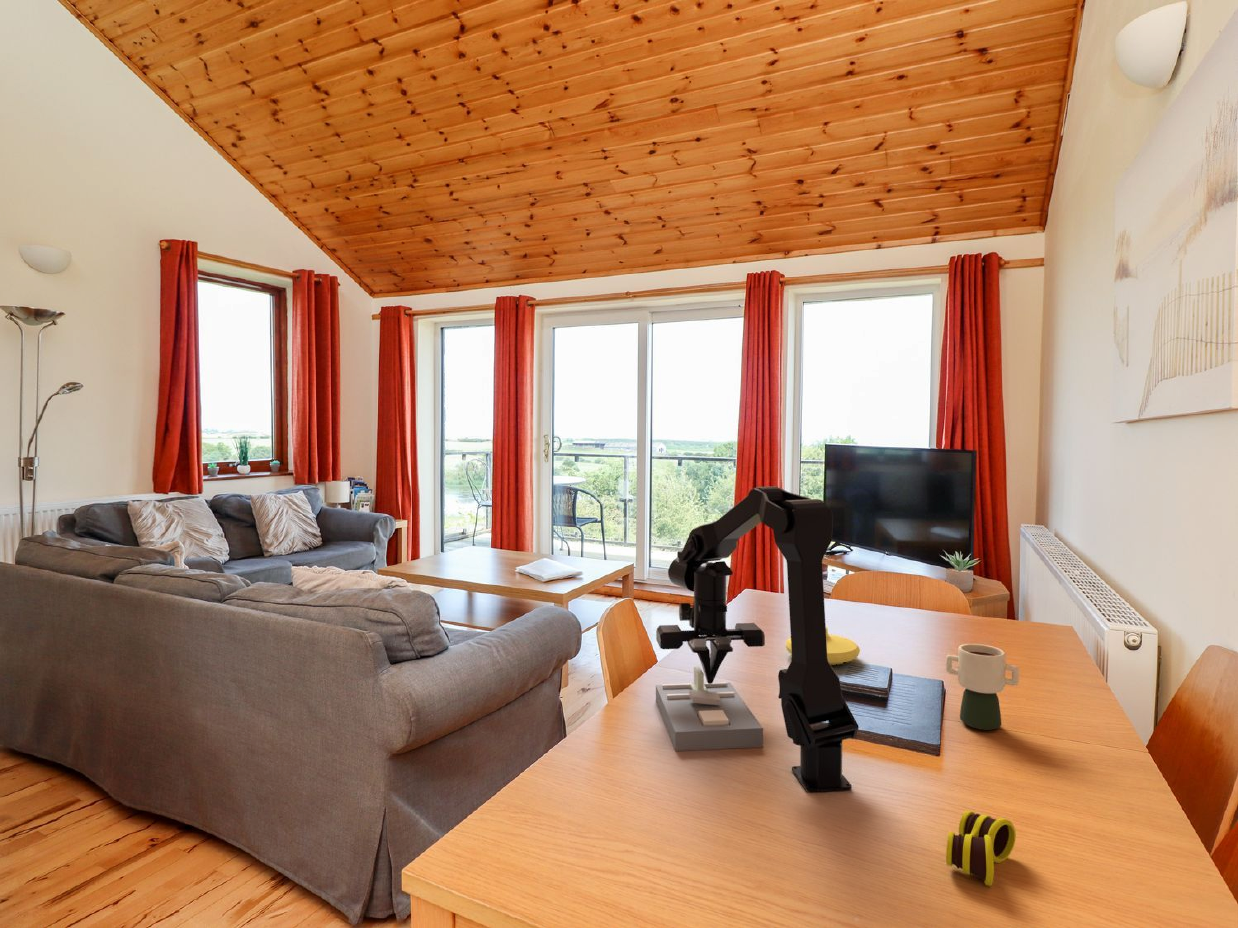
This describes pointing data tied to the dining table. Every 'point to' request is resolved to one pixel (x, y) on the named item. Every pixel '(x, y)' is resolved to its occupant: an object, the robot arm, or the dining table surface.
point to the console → (694, 736)
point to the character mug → (981, 683)
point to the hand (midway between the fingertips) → (709, 682)
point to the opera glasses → (980, 844)
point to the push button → (713, 718)
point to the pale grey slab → (704, 697)
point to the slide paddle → (698, 680)
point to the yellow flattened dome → (836, 649)
